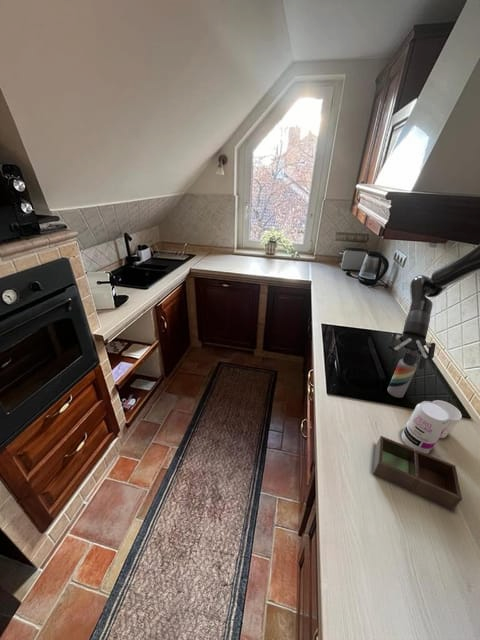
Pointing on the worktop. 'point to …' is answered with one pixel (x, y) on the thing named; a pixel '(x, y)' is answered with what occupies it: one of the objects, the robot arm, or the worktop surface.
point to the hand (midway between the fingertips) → (406, 364)
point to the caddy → (417, 472)
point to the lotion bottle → (403, 374)
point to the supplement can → (425, 426)
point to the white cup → (453, 416)
